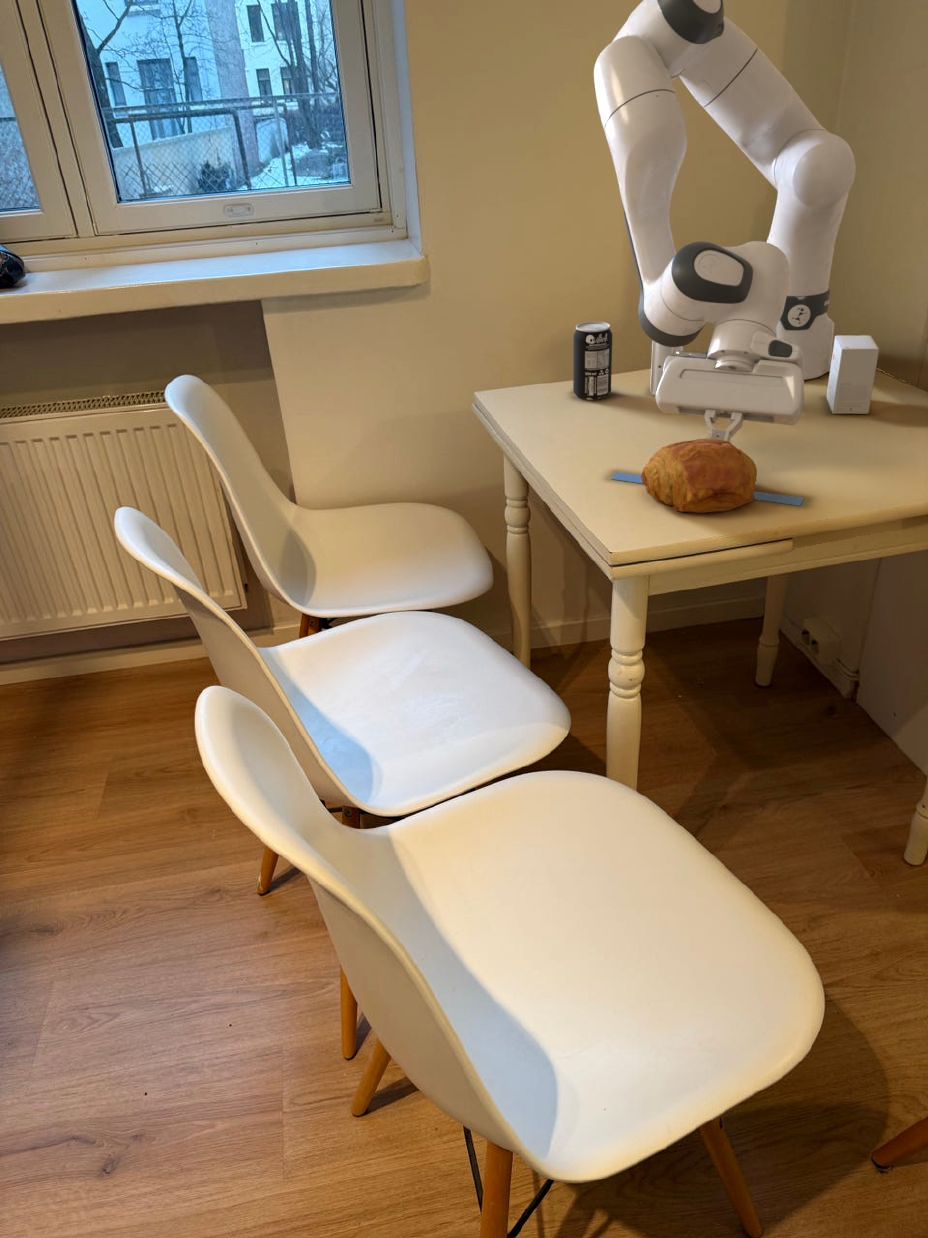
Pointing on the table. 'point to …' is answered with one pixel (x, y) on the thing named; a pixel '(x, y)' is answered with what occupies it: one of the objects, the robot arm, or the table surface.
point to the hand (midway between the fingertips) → (717, 444)
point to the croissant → (701, 476)
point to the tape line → (757, 495)
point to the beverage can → (592, 360)
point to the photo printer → (659, 363)
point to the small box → (852, 374)
